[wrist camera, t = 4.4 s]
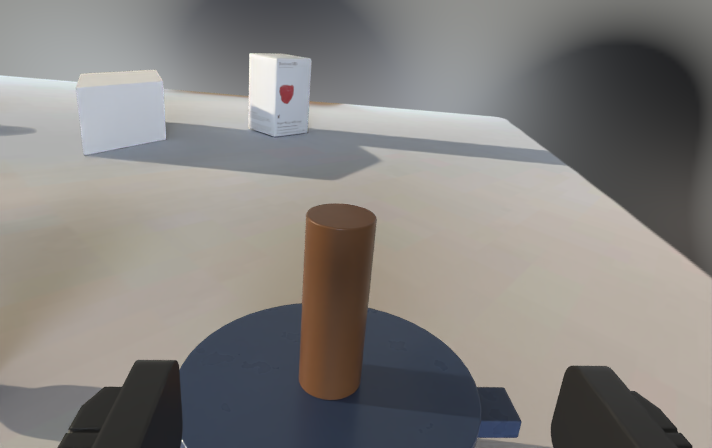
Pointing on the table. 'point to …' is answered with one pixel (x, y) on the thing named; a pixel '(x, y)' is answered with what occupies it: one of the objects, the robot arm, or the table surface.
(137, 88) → the white rectangular block
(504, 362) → the table surface
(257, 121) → the white product box
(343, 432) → the lid
